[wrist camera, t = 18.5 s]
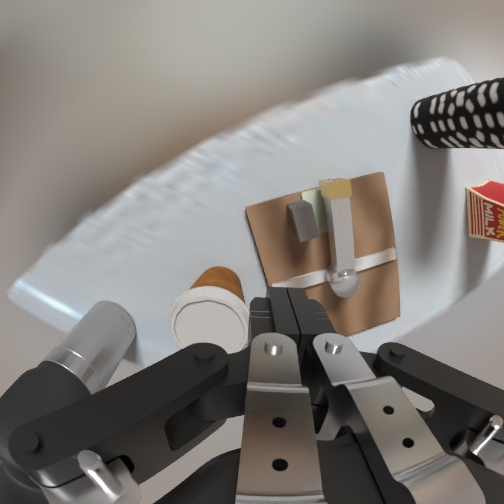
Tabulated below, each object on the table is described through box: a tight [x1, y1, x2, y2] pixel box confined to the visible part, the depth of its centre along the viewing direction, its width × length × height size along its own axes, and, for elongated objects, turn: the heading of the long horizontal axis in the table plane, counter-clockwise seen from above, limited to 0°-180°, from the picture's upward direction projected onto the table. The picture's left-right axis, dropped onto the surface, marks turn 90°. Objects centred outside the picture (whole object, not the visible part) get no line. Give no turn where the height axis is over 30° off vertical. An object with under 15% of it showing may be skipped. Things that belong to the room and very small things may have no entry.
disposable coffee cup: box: [169, 267, 249, 354], centre depth 34 cm, size 10×10×12 cm
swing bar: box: [319, 178, 361, 297], centre depth 34 cm, size 15×4×4 cm, turn 10°
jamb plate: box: [245, 172, 400, 336], centre depth 36 cm, size 20×24×6 cm
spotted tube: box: [411, 77, 504, 149], centre depth 23 cm, size 8×8×20 cm
